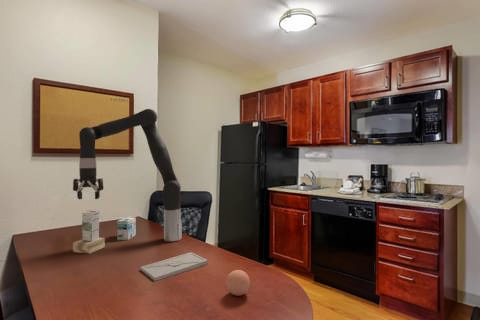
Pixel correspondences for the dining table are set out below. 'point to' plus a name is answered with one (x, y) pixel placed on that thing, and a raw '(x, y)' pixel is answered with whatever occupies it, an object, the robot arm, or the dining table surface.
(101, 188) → the robot arm
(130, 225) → the light bulb box
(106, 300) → the dining table surface
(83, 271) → the dining table surface
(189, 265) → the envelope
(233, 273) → the toy ball
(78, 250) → the maple block
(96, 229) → the syrup box
